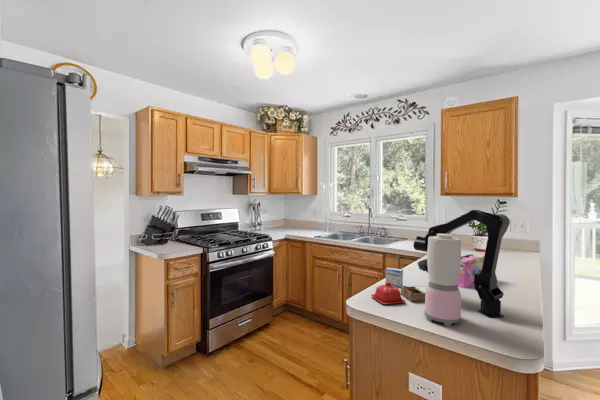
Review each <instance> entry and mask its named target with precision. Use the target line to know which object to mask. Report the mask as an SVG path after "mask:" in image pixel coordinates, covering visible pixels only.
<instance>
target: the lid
mask: <svg viewBox="0 0 600 400" xmlns="http://www.w3.org/2000/svg"><path fill="white" fill-rule="evenodd" d="M424 286H425V285H424ZM427 286H428V285H427ZM427 286H425V287H416V286H414V287H415V289H417V290H418V291H420V292H422V293H425V291H426V288H427Z"/></svg>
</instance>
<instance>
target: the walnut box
mask: <svg viewBox="0 0 600 400" xmlns="http://www.w3.org/2000/svg"><path fill="white" fill-rule="evenodd" d="M415 287H425V285H419V286H401V288H400V294H401V297H403V298H405V299H406V300H408V301H409V302H410V303H425V293H422V292H420V291H418V290H417V289H415Z"/></svg>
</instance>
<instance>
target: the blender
mask: <svg viewBox="0 0 600 400" xmlns="http://www.w3.org/2000/svg"><path fill="white" fill-rule="evenodd" d="M426 253H427V254H426V255H427V256H426V259H427V266H428V273H427V274H428V279H429V281H428V284H427V288H426V291H425V302H424V316H426V320H427V321H428V322H430V323H431V322H433V321H435V322H439V323H443V324H444V326H445V327H448V328H449V327H451V326H452V324H457V323H460V322H461V321H462V319H461V317H462V316H461V315H462V312H461V311H462V294H461V291H460V289H459V287H458V285H457V283H458V278H459V273H460V267H461V257H462V241H461V239H460V238H458V237H453V235H452V234H451V233H450V234H437V236H431V237H429V238H428V248H427V252H426Z"/></svg>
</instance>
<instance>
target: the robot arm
mask: <svg viewBox="0 0 600 400" xmlns="http://www.w3.org/2000/svg"><path fill="white" fill-rule="evenodd" d="M475 221H476V222H478V223H480V224H483V225H485V230H486V234H487V241H486V244H485V245H486V247H485V251H484V255H483V256H484V261H483V266H482V271H481V272H480V273H476V274H475V279H474V282H473V284H474V285H473V287H474V289H475V291H476V292H477V294H478V297H479V300H480V309H477V312H479V313H480V314H482V315H484V316H486V317H488V318H503V317H505V315H503V314H502V312H501V311H502V310H501V308H502V302H501V300H500V299H503V296H504V295H505V293H504V292H503V291H502V290H501V289H500V287H499V286H498V277H497V274H496V270H497V264H498V259H499V254H500V248H501V244H502V240H503V237H504V235H505V234H506V232H507V230H508V228H509V225H510V224H511V223H510V221H511V220H510V218H509V217H508V216H507V215H505V214H501V213H497V214H494V213H490V212H486V211H482V210H480V209H471V210H470V211H468V212H466V213H464V214H462V215H459V216H458V217H456V218H453V219H452V220H450V221H448V222H446V223H442V224H438V225H434V226H431V227H429V228H428V232H427V233H426V235H425V236H420V235H418V236H416V239H415V240H414V242H413V249H414V250H415V251H421V252H424V253H427V248H428V238H429V237H431V236H437V234H450V235H451V233H452V232H454V231H455V230H458V229H460V228H462V227H464V226H466V225H468V224H470V223H473V222H475ZM417 266H418V268H419V270H421V271H422V272H426V273H427V274H429V273H428V266H427V258H426V259H422V260H420V261H417Z"/></svg>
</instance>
